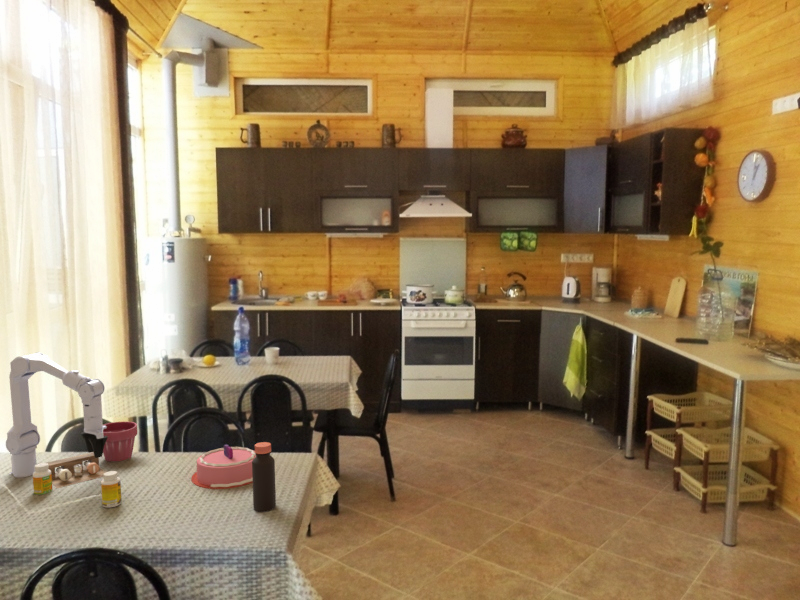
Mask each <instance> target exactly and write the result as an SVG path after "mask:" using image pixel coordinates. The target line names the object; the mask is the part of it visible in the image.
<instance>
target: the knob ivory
mask: <svg viewBox="0 0 800 600" xmlns="http://www.w3.org/2000/svg"><path fill="white" fill-rule="evenodd" d="M55 472H56V473H57V472H58V473H59V478H60V479H61V480H63V481H67V480H69V479H70V478H71V476H72V473H71V472H70V471H69V470H68V469H62V468H61V466H60V467H56V468H55Z"/></svg>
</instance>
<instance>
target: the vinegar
mask: <svg viewBox="0 0 800 600" xmlns="http://www.w3.org/2000/svg"><path fill="white" fill-rule="evenodd" d="M254 451H255V454H256V457H255V458H254V459H253V461H252V478H253V483H252V500H253V501H252V502H253V504H252V505H253V506H252V507H253V510H254V511H256V512H259V513H265V512H270V511H273V510H274V509H275V508H276V506H277V499H276V492H277V491H276V466H275V465H276V462H275V458H274V457H273V456H272V455H271V453H272V443H271V442H267V441H263V442H262V441H261V442H257V443H256V444H254Z"/></svg>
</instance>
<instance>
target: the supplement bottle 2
mask: <svg viewBox="0 0 800 600" xmlns="http://www.w3.org/2000/svg"><path fill="white" fill-rule="evenodd" d="M105 472H106V473H104V474H103V477H102V480H101V481H100V491H101V504H102V505H101V506H103V507H104V508H106V509H107V508H109V509H111V508H115V507H118V506H120V505H121V503H122V487H121V478H120V476H118V471H116V470H110V471H105Z"/></svg>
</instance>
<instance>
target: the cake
mask: <svg viewBox="0 0 800 600" xmlns="http://www.w3.org/2000/svg"><path fill="white" fill-rule="evenodd" d="M255 457H256V454H255V449H254V450H253V449H250V448H248V447H242V446H229V444H224V445H223V447H221V448H216V449H212V450H209V451H207V452H204V453H203V454H202V455H200V456H199V457H197V459H196V471H195V472H194V473H193V474H192V476H191V479H190V481H191V483H192V484H193V485H195V486H196V487H200V488H204V489H212V490H224V489H225V490H226V489H233V488H238V487H240V488H241V487H243V486H247V485H250V484H253V478H252V461H253V459H254V458H255Z"/></svg>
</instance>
